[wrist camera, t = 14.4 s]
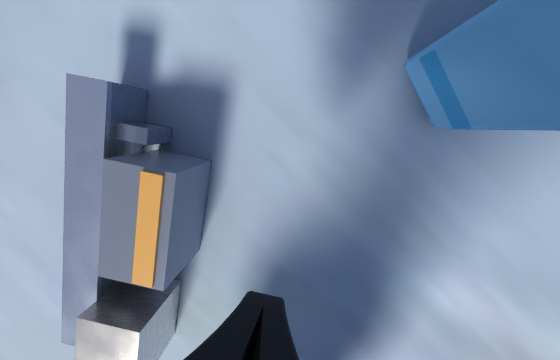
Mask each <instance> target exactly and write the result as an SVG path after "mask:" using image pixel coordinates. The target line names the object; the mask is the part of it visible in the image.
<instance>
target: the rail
mask: <svg viewBox="0 0 560 360" xmlns="http://www.w3.org/2000/svg"><path fill="white" fill-rule="evenodd" d="M147 94H148V90H144V89H139V88H135V87H131V86H126V85H122V84H118V83H113V82H109V81H104V80H99V79H94V78H89V77H83V76H78V75H73V74H68V73H67V75H66V128H65V181H64V235H63V288H62V341H61V343H64V344H68V345H72V346H75V360H158V359H159V358H160V356H161V355H162V353H163V351H164V350H165V348H166V347H167V345H168V343H169V342H170V340H171V339H172V337H173V335H174V334H175V327H176V319H177V310H178V302H179V294H180V286H181V281H180V280H175V279H174V280H173V281H172V282H171V283H170V284H169V285H168V287H167V288H166V289H165V290H164V291H160V290H156V289H151V288H147V287H142V286H138V285H134V284H129V283H125V282H121V281H116V280H112V279H108V278H103V277H99V276H98V260H99V239H100V218H101V197H102V176H103V159H105V158H111V157H117V156H123V155H130V154H136V153H142V152H143V145H152V144H161V143H169V142H171V134H172V128H168V127H163V126H158V125H153V124H148V123H145V118H146V106H147Z"/></svg>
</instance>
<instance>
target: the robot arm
mask: <svg viewBox="0 0 560 360" xmlns="http://www.w3.org/2000/svg"><path fill="white" fill-rule="evenodd" d="M184 360H299V358H298V355H297V352H296V349H295V346H294V343H293V339H292V336H291V333H290V329H289V325H288V321H287V317H286V312H285V304H284V300H283V299H282V298H280V297H275V296H271V295H267V294H262V293H258V292H253V291H249V292H247V293H246V295H245V297H244V298H243V300H242V301H241V302H240V304H239V305H238V306H237V307H236V309H235V310H234V311H233V312H232V313H231V314H230V316H229V317H228V318H227V319H226V320H225V321H224V322H223V323H222V324H221V326H220V327H219V328H218V329H217V330H216V331H215V332H214V333H213V334H211V335H210V336H209V337H208V338H207V339H206V340H205V341H204V342H203V343H202V344H201V345H200V346H199V347H198V348H197V349H195V350H194V351H193V352H192V353H191V354H190V355H188V356H187V357H186V358H185V359H184Z"/></svg>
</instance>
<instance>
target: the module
mask: <svg viewBox="0 0 560 360" xmlns="http://www.w3.org/2000/svg"><path fill="white" fill-rule="evenodd" d="M210 168H211V160H206V159H201V158H196V157H191V156H186V155H181V154H176V153H171V152H166V151H161V150H155V151H148V152H142V153H136V154H130V155H123V156H117V157H111V158H105V159H103V176H102V197H101V218H100V239H99V260H98V276H99V277H103V278H108V279H112V280H116V281H121V282H125V283H129V284H134V285H138V286H142V287H147V288H151V289H156V290H160V291H164V290H165V289H166V288H167V287H168V285H169V284H170V283H171V282H172V281H173V280H174V278H175V277H176V276H177V275H178V274H179V273H180V271H181V270H182V269H183V268H184V267H185V266H186V264H187V263H188V262H189V261H190V260H191V259H192V257H193V256H194V255H195V254H196V253H197V252H198V250H199V249H200V243H201V235H202V228H203V220H204V213H205V206H206V198H207V191H208V183H209V176H210Z"/></svg>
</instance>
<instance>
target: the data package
mask: <svg viewBox="0 0 560 360" xmlns="http://www.w3.org/2000/svg"><path fill="white" fill-rule="evenodd" d="M404 67H405V69H406V71H407V73H408V75H409V77H410V79H411V81H412V83H413V85H414V87H415V90H416V92H417V94H418V96H419V98H420V100H421V102H422V104H423V106H424V108H425V110H426V112H427V114H428V116H429V118H430V120H431V122H432V124H433V126H434V127H435V128H438V129H491V130H558V131H560V0H498V1H497V2H495V3H494V4H492V5H490V6H489V7H487V8H486V9H484V10H483V11H481V12H480V13H478V14H477V15H475V16H474V17H472V18H470V19H469V20H467V21H466V22H464V23H463V24H461V25H460V26H458V27H457V28H455V29H454V30H452V31H450V32H449V33H447V34H446V35H444V36H443V37H441V38H440V39H438V40H437V41H435V42H434V43H432V44H431V45H429V46H427V47H426V48H424V49H423V50H421V51H420V52H418V53H417V54H415V55H414V56H412V57H411V58H409V59H408V60H406V61H405V63H404Z"/></svg>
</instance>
